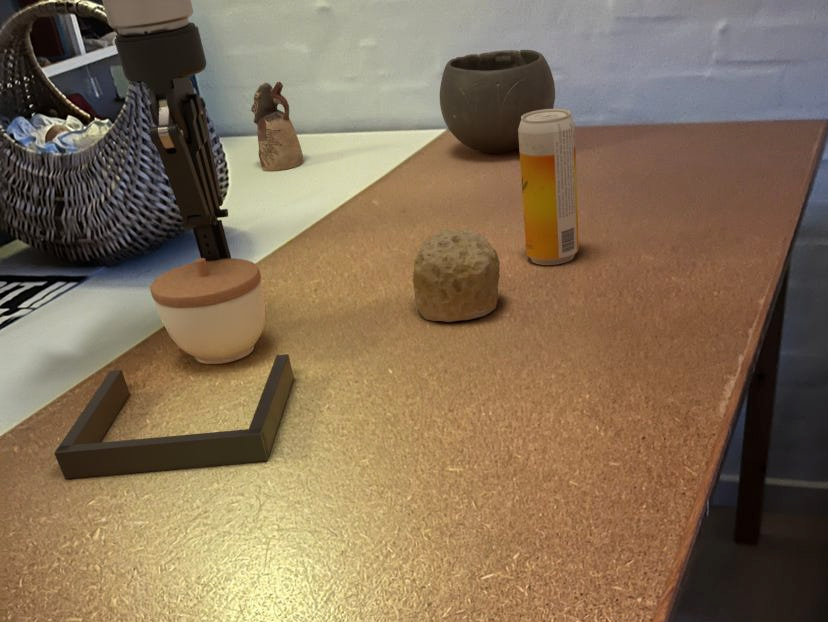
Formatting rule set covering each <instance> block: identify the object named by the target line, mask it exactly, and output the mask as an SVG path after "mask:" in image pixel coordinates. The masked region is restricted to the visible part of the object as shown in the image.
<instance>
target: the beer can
mask: <svg viewBox="0 0 828 622" xmlns="http://www.w3.org/2000/svg"><path fill="white" fill-rule="evenodd" d="M518 135H519V148H518V149H519V165H520V179H521V195H522V211H523V223H524V224H523V226H524V240H525V243H524V244H525V254H526V255H527V256H528V257H529V259H530V260H531V262H532V263H534V264H535V265H541V266H555V265H561V264H565V263H568V262H570V261H572V260H573V259H574V258H575V255H576V254H577V252H578V251H579V249H580V246H579V243H580V242H579V217H578V215H579V213H578V211H579V210H578V185H577V184H578V183H577V182H578V181H577V151H576V147H577V146H576V124H575V121H574V119H573V117H572V112H571V111H570V110H568V109H564V108H553V109H543V110H537V111H532V112H529V113H526V114H524V115H522V116H521V122H520V125H519V128H518Z"/></svg>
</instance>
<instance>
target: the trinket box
mask: <svg viewBox="0 0 828 622" xmlns="http://www.w3.org/2000/svg"><path fill="white" fill-rule="evenodd" d="M261 279H262V276H261V271H260V267H259V266H258V264H256V263H255V262H253V261H250V260H247V259H243V258H232V257H231V258H225V259H219V260H210V261H206V260H205V258H201V257H200V258H197V259H195V260H194V262H191V263H187V264H184V265H181V266H177V267H175V268H172V269H169V270H168V271H166V272H164V273H162V274H161V275H159V276H157V277H156V278H155V279H154V280H153V281H152V282H151V285H150V286H149V288H150V289H149V291H150V294H151V296H152V299H153V301H154V302H155V306H156V309H157V312H158V315H159V317H160V320H161V322H162V324H163V327H165V330H166V332H167V333H168V335H169V337H170V338H171V340H172V341H173V343H175V344H176V346H178V347H179V348H180V349H181V350H182V351H184V352H185V353H186V354H188V355H190V356H191V357H194V358H195V361H197V362H198V363H202V364H206V365H221V364H228V363H231V362H232V363H233V362H235V361H239V360H241V359H243V358H245V357H248V356H249V355H250V354H251V353H253V352H254V350H255V344H256V343H257V341H259V339H260V337H261V335H262V333H263V330H264V326H265V321H266V300H265V296H264V295H265V294H264V289H263V284H262V280H261Z"/></svg>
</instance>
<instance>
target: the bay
mask: <svg viewBox="0 0 828 622" xmlns="http://www.w3.org/2000/svg"><path fill="white" fill-rule="evenodd" d="M294 379H295V375H294V371H293V368H292V363H291V359H290V355H289V353H285V354H276V355H275V358H274V361H273V363H272V366H271V369H270V372H269V374H268V377H267V379H266V382H265V384H264V388H263V390H262V393H261V396H260V398H259V401H258V403H257V406H256V408H255V412H254V414H253V417H252V419H251V422H250V424H249V427H248V428H246V429H245V428H244V429H234V430H224V431H223V430H222V431H211V432H200V433H191V434H190V433H189V434H179V435H169V436H159V437H147V438H135V439H125V440H113V441H102V440H103V438H104V437H105V435H106V433H107V432H108V430H109V428H110V427H111V425H112V423H113V422H114V421H115V419H116V417H117V415H118V414H119V412H120V411H121V409H122V407H124V404H125V402H126V401H127V399H128V398H129V396H130V393H131V392H130V390H129V387H128V384H127V382H126V379H125V376H124V373H123V370H122V369H118V370H110V371H109V372H108V373H107V374H106V376H105V378H104V379H103V381H102V382H101V383H100V385H99V386H98V388H97V389H96V390H95V392H94V394H93V396H92V397H91V398H90V399H89V401H88V402H87V404H86V406H85V407H84V409H83V410H82V412H81V413H80V415H79V416H78V417H77V419H76V420H75V422H74V423H73V425H72V426H71V428H70V429H69V431H68V432H67V434H66V435H65V436H64V438H63V439H62V441H61V442H60V444H59V446H58V447H57V448H56V449H55V451H54V453H53V454H54V457H55V459H56V461H57V464H58V466H59V468H60V470H61V473H62V476H63V478H64V479H65V480H70V479H72V480H73V479H81V478H94V477H103V476H105V477H106V476H115V475H116V476H117V475H125V474H126V475H127V474H139V473H148V472H149V473H150V472H159V471H173V470H182V469H195V468H205V467H217V466H228V465H239V464H251V463H261V462H268V459H269V456H270V452H271V450H272V446H273V444H274V441H275V438H276V434H277V432H278V428H279V425H280V422H281V419H282V417H283V413H284V409H285V407H286V404H287V401H288V397H289V395H290V392H291V389H292V386H293V382H294ZM101 441H102V442H101Z"/></svg>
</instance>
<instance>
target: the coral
mask: <svg viewBox="0 0 828 622" xmlns="http://www.w3.org/2000/svg"><path fill="white" fill-rule="evenodd" d="M500 263H501V262H500V259H499V256H498V251H497V250H496V248H495V247H493V246H492V244H491V242H490V241H489V240H488V237H486V236H485V235H482V234H481V233H478V232H476V231H475V230H470V229H464V230H463V229H461V228H453V229H451V230H449V229H439V230H437V231H435V232H434V233H432V235H430V236H427V238H425V239H424V241H423V245H422V246H420V247H419V251H418V253H417V255H416V258H415V259H414V260H413V267H414V268H413V272H412V287H413V292H414V293H413V294H414V298H415V302H416V304H417V309H418V311H419V313H420V315H421V316H422V318H424V319H425V320H427V321H432V322H437V321H438V322H446V323H452V322H459V321H468V320H473V319H474V320H475V319H477V318H482V317H484V316H486V315H488V314H491V312H493V311H495V310H496V308H497V305H498V300H499V284H500V283H499V282H500V275H501V274H500V272H501V271H500V270H501V269H500V266H501V265H500Z"/></svg>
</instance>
